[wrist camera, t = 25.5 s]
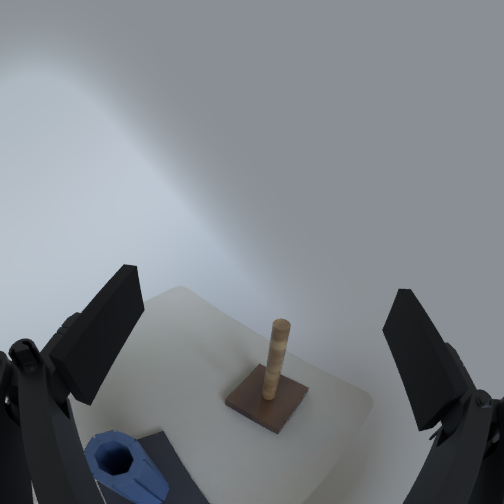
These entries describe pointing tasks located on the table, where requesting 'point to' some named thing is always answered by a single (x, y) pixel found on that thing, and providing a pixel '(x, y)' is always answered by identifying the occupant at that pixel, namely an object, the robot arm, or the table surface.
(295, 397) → the dowel stand
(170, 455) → the mat
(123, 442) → the sleeve
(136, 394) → the table surface
